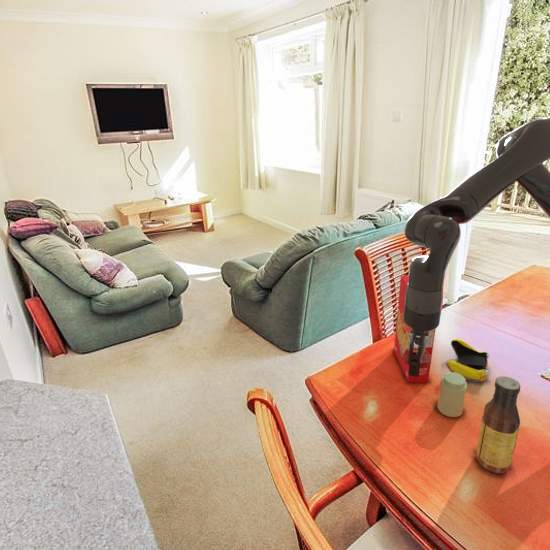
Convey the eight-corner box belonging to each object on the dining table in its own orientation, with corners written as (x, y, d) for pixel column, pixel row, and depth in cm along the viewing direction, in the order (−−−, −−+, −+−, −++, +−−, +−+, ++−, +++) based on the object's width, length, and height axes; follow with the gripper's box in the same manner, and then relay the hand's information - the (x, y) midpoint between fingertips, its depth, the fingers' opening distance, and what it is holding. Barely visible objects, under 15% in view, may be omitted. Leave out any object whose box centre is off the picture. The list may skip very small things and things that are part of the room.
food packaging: (394, 350, 114) (400, 275, 104) (411, 350, 114) (420, 274, 104) (408, 382, 101) (417, 299, 91) (428, 381, 100) (439, 298, 91)
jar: (458, 401, 93) (463, 371, 90) (465, 418, 88) (471, 386, 84) (434, 400, 94) (439, 370, 90) (440, 416, 89) (445, 385, 85)
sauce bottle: (516, 473, 74) (539, 394, 66) (486, 477, 74) (505, 397, 66) (496, 447, 80) (514, 371, 72) (467, 449, 80) (483, 374, 72)
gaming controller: (443, 379, 101) (485, 391, 96) (445, 363, 99) (489, 373, 94) (450, 350, 113) (487, 359, 108) (452, 335, 110) (491, 343, 106)
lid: (397, 356, 89) (397, 351, 88) (418, 350, 91) (419, 345, 90) (413, 370, 84) (414, 365, 83) (435, 364, 85) (436, 359, 85)
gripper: (409, 288, 89) (403, 347, 95) (399, 316, 77) (393, 381, 83) (444, 293, 86) (435, 354, 92) (439, 323, 74) (429, 390, 80)
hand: (415, 367), depth 88 cm, fingers closed on lid, 6 cm apart
